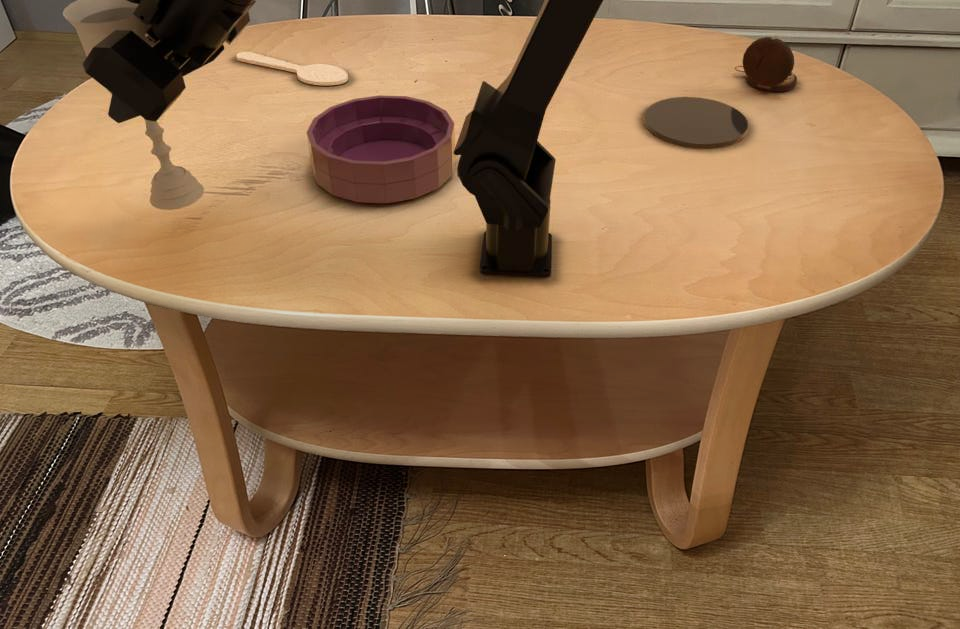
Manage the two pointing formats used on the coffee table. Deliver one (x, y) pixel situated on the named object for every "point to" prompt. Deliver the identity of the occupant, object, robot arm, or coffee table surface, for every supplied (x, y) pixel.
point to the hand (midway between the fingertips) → (130, 103)
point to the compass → (769, 64)
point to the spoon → (299, 69)
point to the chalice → (94, 21)
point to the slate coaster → (695, 122)
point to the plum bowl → (382, 148)
